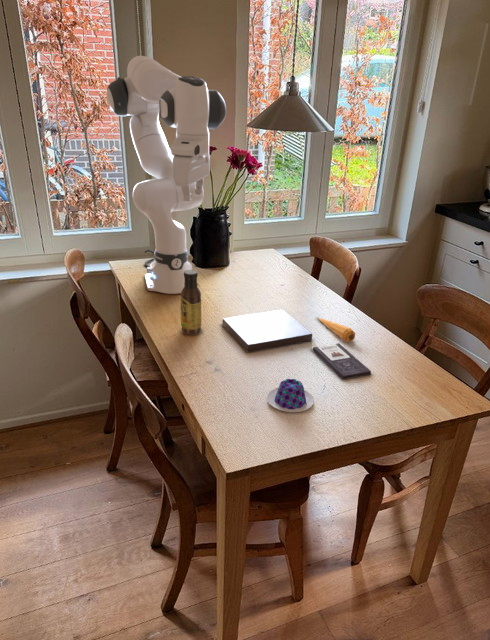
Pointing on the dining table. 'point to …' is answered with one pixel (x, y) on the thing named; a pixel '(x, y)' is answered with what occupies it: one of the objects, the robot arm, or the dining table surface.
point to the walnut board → (266, 330)
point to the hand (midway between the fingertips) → (193, 197)
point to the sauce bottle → (191, 304)
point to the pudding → (290, 396)
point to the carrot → (340, 330)
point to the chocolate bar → (341, 361)
